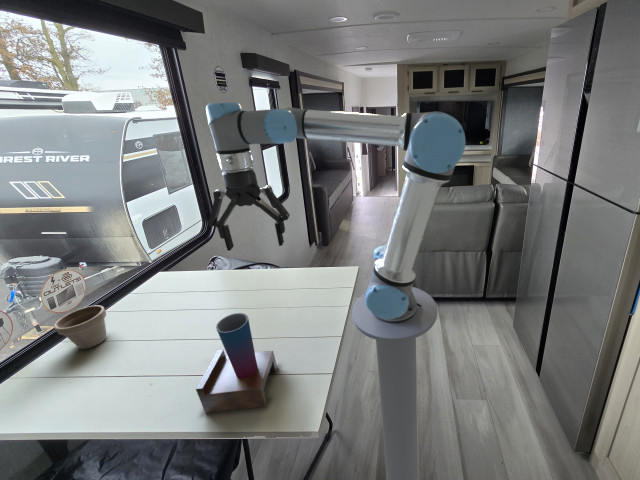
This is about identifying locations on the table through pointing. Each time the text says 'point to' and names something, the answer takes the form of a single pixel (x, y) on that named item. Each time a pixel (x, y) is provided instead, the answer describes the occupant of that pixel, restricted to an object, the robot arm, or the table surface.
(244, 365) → the cup
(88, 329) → the flower pot
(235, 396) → the brown stepped block
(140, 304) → the table surface
